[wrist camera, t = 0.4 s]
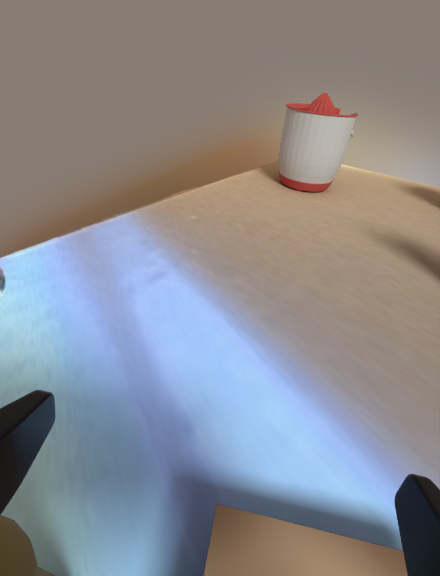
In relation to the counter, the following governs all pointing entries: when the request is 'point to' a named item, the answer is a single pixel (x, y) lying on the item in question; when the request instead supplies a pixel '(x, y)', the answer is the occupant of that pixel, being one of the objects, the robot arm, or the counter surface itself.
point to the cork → (17, 551)
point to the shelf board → (291, 549)
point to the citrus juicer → (313, 144)
